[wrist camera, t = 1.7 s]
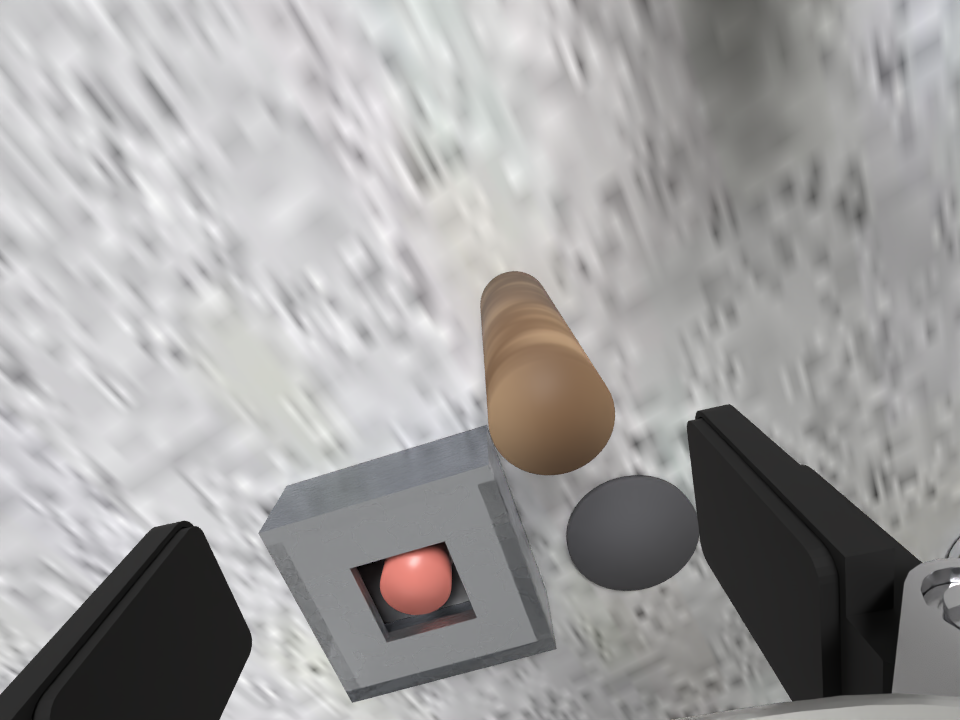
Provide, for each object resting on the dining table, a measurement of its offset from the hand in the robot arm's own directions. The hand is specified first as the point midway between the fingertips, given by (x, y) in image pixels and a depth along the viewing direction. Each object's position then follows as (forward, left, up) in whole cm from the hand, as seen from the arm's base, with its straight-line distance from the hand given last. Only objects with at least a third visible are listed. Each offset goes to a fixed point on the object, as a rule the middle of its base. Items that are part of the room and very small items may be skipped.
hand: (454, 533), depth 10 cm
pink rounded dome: (+9, +16, -21) cm, 28 cm away
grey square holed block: (+9, +16, -23) cm, 29 cm away
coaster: (-5, +20, -23) cm, 31 cm away
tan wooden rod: (-2, +2, -23) cm, 23 cm away
